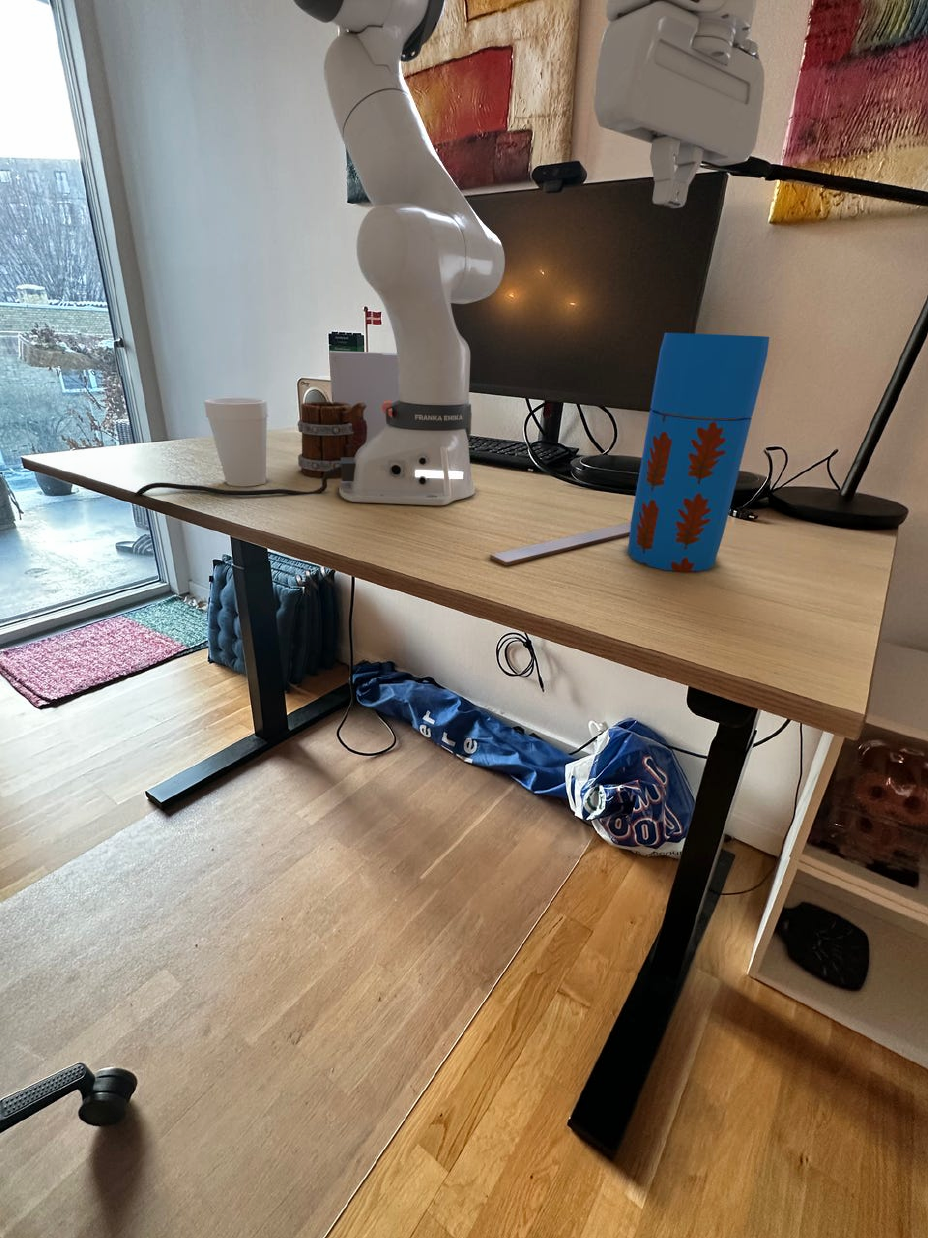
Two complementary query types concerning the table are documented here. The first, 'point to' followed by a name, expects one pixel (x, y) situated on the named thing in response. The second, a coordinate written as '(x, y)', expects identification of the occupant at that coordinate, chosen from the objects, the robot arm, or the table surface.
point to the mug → (330, 435)
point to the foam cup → (240, 438)
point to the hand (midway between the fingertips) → (668, 205)
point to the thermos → (694, 447)
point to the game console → (365, 383)
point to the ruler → (561, 544)
